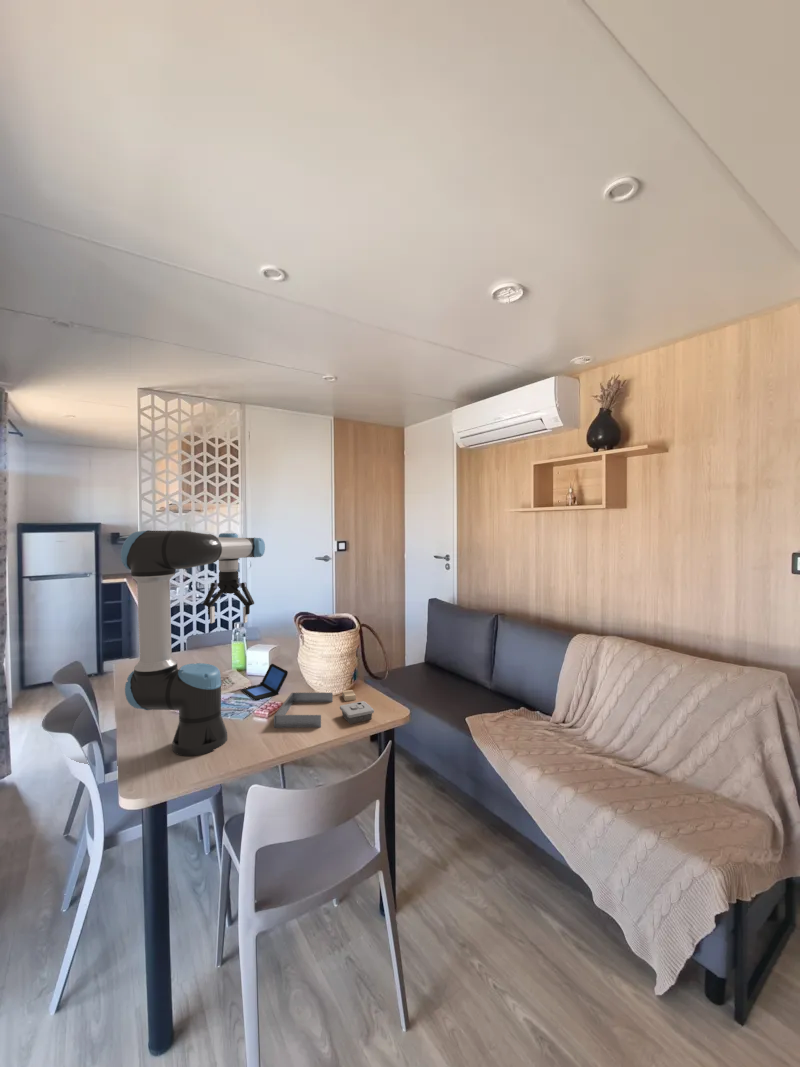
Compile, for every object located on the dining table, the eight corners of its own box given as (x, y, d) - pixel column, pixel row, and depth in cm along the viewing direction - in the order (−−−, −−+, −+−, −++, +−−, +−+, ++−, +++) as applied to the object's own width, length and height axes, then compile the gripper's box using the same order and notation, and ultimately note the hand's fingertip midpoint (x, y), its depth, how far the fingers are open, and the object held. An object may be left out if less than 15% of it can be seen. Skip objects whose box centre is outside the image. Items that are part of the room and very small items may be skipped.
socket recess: (320, 728, 146) (320, 715, 146) (273, 728, 146) (273, 715, 146) (332, 703, 167) (332, 692, 167) (291, 703, 168) (291, 692, 168)
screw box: (355, 703, 168) (355, 695, 168) (345, 704, 167) (345, 696, 167) (352, 697, 174) (352, 689, 174) (342, 698, 172) (342, 691, 172)
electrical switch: (364, 700, 159) (374, 704, 151) (365, 715, 158) (375, 720, 150) (338, 705, 155) (347, 709, 147) (339, 721, 154) (349, 726, 146)
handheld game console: (240, 692, 181) (240, 669, 181) (271, 684, 190) (271, 662, 190) (256, 703, 169) (255, 678, 169) (289, 694, 178) (288, 671, 178)
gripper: (261, 569, 189) (262, 620, 189) (202, 570, 189) (202, 621, 189) (255, 571, 181) (256, 624, 181) (194, 571, 182) (194, 624, 181)
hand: (228, 622), depth 185 cm, fingers open, 13 cm apart
